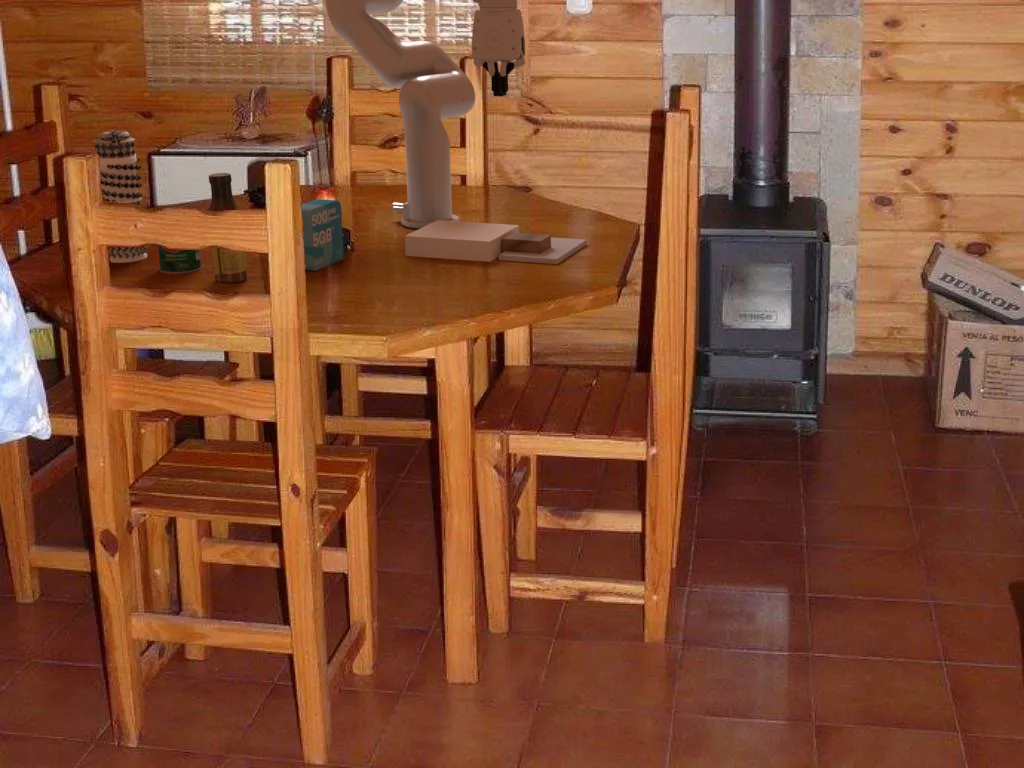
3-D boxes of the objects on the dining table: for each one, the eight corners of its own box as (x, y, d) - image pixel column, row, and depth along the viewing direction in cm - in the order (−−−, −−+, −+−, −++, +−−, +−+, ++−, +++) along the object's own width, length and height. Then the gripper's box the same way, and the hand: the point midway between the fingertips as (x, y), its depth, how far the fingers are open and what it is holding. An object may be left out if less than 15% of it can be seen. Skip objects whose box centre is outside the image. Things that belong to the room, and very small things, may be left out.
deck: (405, 255, 294) (404, 235, 292) (438, 239, 308) (437, 220, 307) (490, 261, 287) (489, 241, 286) (519, 244, 302) (519, 225, 300)
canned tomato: (166, 275, 281) (160, 218, 278) (155, 267, 288) (150, 211, 284) (206, 270, 284) (202, 214, 281) (195, 262, 291) (190, 207, 288)
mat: (498, 259, 289) (498, 254, 289) (530, 240, 305) (530, 236, 304) (557, 264, 285) (557, 259, 284) (586, 244, 301) (586, 239, 300)
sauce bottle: (254, 278, 278) (247, 172, 272) (235, 285, 273) (227, 178, 267) (225, 275, 281) (217, 170, 275) (205, 282, 275) (197, 176, 269)
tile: (502, 251, 292) (502, 238, 291) (513, 244, 297) (513, 232, 296) (540, 253, 289) (540, 241, 288) (551, 247, 294) (550, 235, 293)
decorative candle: (158, 254, 299) (147, 129, 291) (133, 264, 290) (120, 136, 283) (119, 251, 302) (107, 128, 294) (93, 261, 293) (79, 134, 286)
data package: (312, 272, 281) (308, 210, 278) (292, 271, 283) (288, 208, 279) (344, 259, 292) (341, 198, 288) (324, 257, 294) (321, 197, 290)
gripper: (456, 3, 294) (458, 96, 299) (527, 3, 289) (528, 99, 294) (470, 0, 300) (472, 92, 306) (540, 1, 295) (541, 94, 301)
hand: (500, 95), depth 300 cm, fingers closed
